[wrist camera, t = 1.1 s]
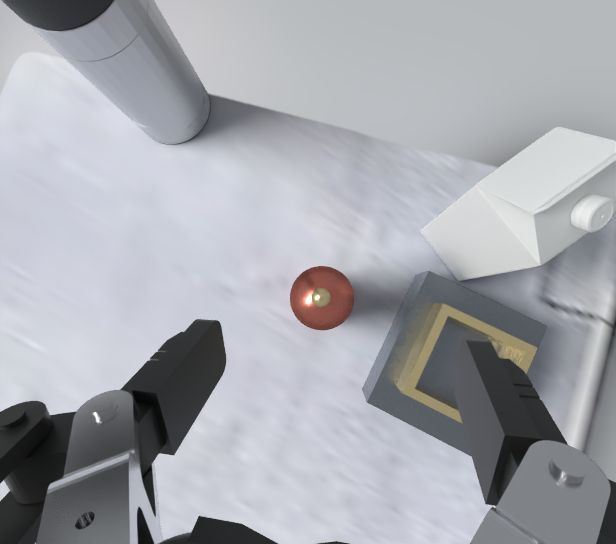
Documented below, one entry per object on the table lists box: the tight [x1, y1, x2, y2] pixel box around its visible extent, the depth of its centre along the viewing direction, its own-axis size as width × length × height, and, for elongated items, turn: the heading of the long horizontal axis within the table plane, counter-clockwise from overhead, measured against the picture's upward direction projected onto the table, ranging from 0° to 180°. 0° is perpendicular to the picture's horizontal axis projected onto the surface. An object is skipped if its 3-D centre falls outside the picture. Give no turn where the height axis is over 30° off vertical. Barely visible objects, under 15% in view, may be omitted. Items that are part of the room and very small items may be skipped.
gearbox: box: [362, 271, 547, 456], centre depth 33 cm, size 13×14×8 cm
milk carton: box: [420, 127, 616, 281], centre depth 29 cm, size 7×7×19 cm
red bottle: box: [290, 266, 354, 330], centre depth 31 cm, size 5×5×14 cm
